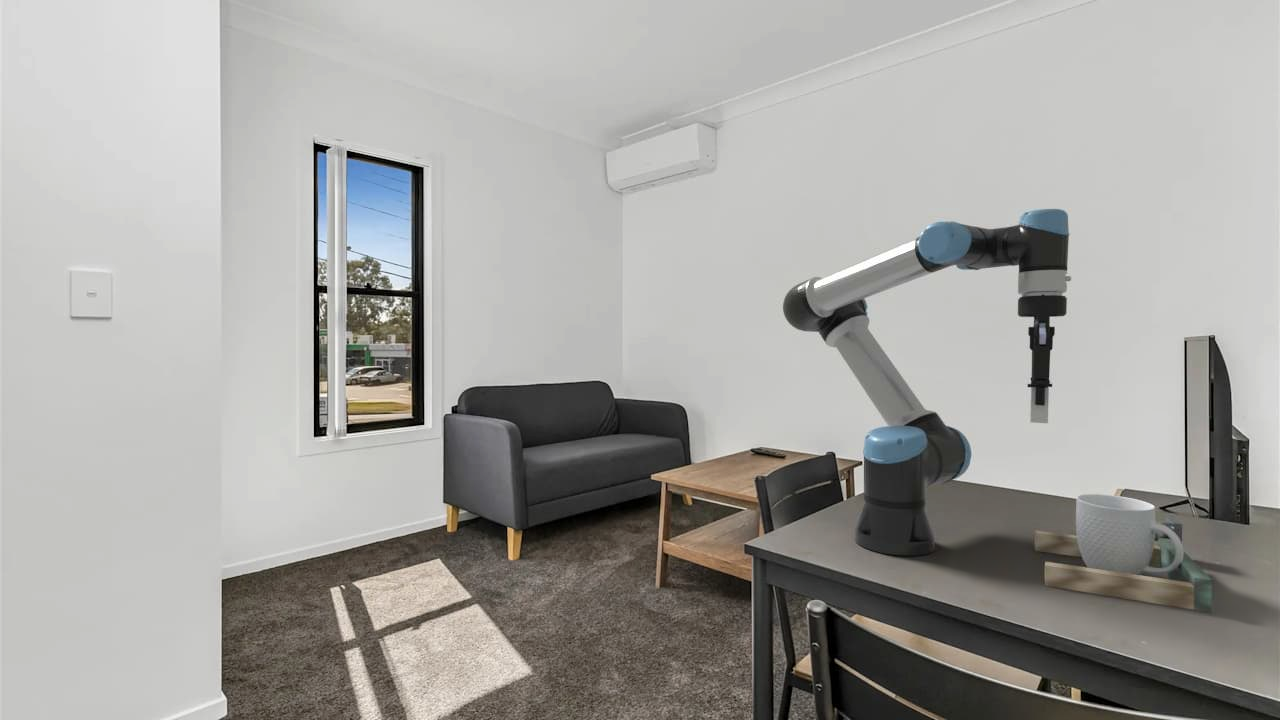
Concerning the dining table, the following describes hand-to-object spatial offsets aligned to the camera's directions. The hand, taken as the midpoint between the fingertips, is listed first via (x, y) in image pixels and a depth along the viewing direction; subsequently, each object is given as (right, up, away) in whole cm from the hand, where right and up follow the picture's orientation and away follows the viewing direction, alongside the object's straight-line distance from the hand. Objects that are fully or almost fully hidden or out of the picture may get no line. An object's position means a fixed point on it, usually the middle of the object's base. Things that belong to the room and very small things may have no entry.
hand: (1038, 422), depth 113 cm
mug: (+10, -27, -7) cm, 29 cm away
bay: (+9, -26, -6) cm, 28 cm away
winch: (+23, -26, +3) cm, 35 cm away
